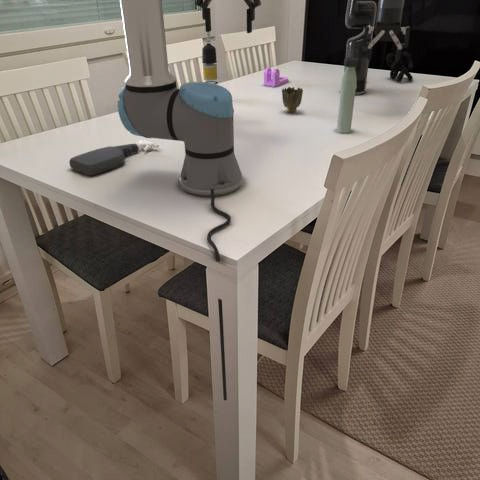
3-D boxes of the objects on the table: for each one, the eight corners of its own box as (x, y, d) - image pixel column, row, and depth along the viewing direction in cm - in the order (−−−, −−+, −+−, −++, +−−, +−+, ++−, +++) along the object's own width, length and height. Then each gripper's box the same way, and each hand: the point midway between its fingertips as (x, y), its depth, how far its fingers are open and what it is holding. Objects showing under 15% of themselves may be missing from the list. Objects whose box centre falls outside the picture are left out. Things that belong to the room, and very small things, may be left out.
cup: (277, 113, 160) (278, 90, 155) (285, 108, 165) (286, 85, 161) (297, 115, 157) (298, 92, 152) (304, 110, 162) (306, 87, 158)
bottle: (334, 132, 142) (341, 61, 130) (338, 128, 145) (346, 58, 134) (348, 134, 140) (356, 62, 129) (352, 129, 143) (360, 59, 132)
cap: (342, 66, 131) (342, 59, 130) (345, 64, 134) (346, 57, 133) (355, 67, 130) (356, 60, 129) (359, 65, 133) (360, 58, 132)
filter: (220, 99, 177) (217, 15, 161) (206, 100, 176) (202, 16, 160) (215, 96, 182) (212, 14, 166) (202, 97, 180) (197, 14, 164)
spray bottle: (67, 168, 120) (139, 144, 136) (91, 178, 114) (163, 151, 130) (65, 157, 118) (137, 134, 134) (89, 167, 112) (162, 142, 128)
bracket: (274, 86, 193) (275, 69, 190) (264, 85, 196) (264, 68, 193) (290, 81, 202) (291, 64, 198) (279, 79, 205) (280, 63, 201)
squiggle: (400, 92, 202) (376, 71, 205) (417, 76, 202) (392, 56, 205) (405, 81, 191) (380, 59, 194) (423, 64, 191) (397, 42, 194)
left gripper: (272, -51, 127) (270, 31, 138) (192, -49, 134) (197, 29, 145) (264, -51, 121) (263, 34, 132) (181, -49, 128) (187, 32, 139)
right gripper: (414, 4, 140) (404, 59, 149) (367, 4, 143) (361, 58, 152) (415, 7, 134) (405, 64, 143) (366, 6, 137) (360, 62, 146)
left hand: (228, 32), depth 139 cm, fingers open, 13 cm apart
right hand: (382, 61), depth 147 cm, fingers open, 8 cm apart
